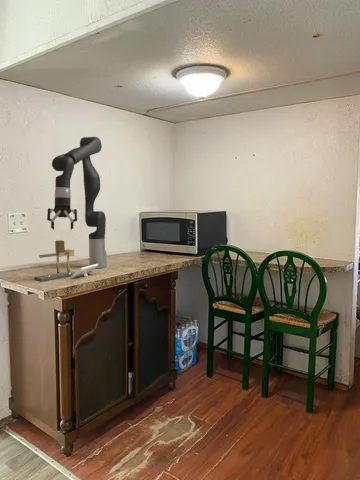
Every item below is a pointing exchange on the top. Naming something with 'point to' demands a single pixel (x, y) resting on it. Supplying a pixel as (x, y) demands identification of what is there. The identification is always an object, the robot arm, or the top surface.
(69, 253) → the dividers frame
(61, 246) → the block
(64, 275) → the bolt plate
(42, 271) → the top surface
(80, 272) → the light switch
